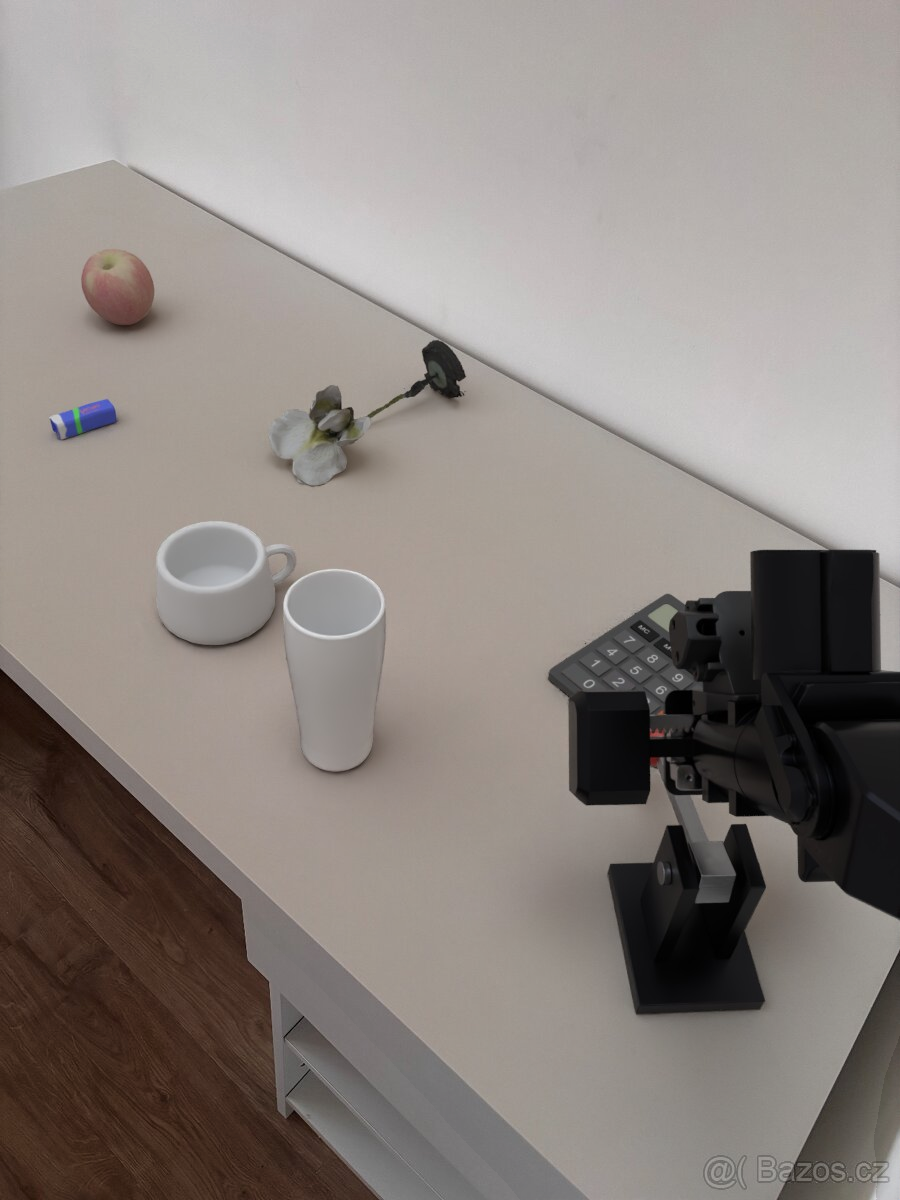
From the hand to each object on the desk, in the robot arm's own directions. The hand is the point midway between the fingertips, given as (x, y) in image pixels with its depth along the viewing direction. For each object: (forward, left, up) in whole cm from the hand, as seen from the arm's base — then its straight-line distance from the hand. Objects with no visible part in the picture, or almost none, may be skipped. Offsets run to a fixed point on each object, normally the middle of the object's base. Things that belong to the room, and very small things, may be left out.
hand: (688, 729), depth 68 cm
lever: (-3, +1, -6) cm, 7 cm away
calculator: (+13, -7, -11) cm, 19 cm away
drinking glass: (+13, +20, -11) cm, 27 cm away
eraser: (+59, +35, -11) cm, 69 cm away
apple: (+79, +29, -11) cm, 85 cm away
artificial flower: (+51, +7, -11) cm, 53 cm away
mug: (+30, +25, -11) cm, 41 cm away
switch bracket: (-8, +2, -11) cm, 14 cm away
